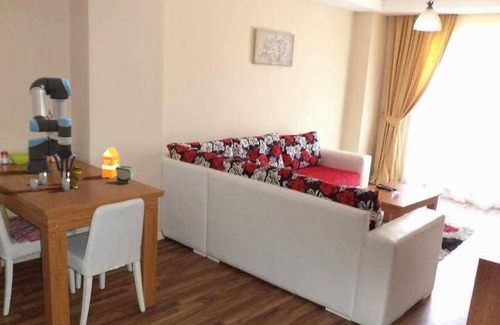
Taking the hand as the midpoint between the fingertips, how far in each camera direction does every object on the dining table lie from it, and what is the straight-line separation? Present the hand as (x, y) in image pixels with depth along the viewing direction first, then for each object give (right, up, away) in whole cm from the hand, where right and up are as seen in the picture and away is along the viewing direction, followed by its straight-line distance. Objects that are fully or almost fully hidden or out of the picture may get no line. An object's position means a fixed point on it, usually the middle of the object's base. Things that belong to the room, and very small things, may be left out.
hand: (64, 182), depth 257 cm
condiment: (+3, -2, +1) cm, 4 cm away
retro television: (+30, -1, +23) cm, 38 cm away
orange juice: (+16, +2, +35) cm, 39 cm away
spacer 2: (-15, -1, +5) cm, 16 cm away
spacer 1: (-13, -4, -10) cm, 17 cm away
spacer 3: (-3, -1, +9) cm, 9 cm away
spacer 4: (+3, -4, -6) cm, 8 cm away
